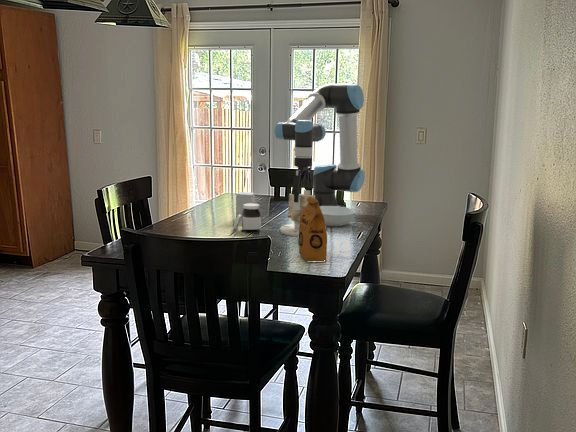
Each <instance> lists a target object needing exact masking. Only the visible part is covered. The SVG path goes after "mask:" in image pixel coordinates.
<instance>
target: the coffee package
mask: <svg viewBox="0 0 576 432" xmlns="http://www.w3.org/2000/svg"><path fill="white" fill-rule="evenodd" d="M307 201H308V204H307V206H306V207H305V209H304V211H303V212H302V214H301V216H300V225H299V237H298V238H297V244H298V254H299V255H300V256H301V258H303V260H305V261H306V262H307V261H324V260H326V261H327V256H328V255H327V251H328V231H327V226H326V225H325V220H324V216H323V214H322V211H321V209H320V206H319V203H318V201H317V200H316V199H314V198H312V197H308V198H307Z"/></svg>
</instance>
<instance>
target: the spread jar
mask: <svg viewBox="0 0 576 432" xmlns="http://www.w3.org/2000/svg"><path fill="white" fill-rule="evenodd" d="M243 208H244V209H243V211H242V215H240V214H239V215H238V216H237V218H236V217H235V220H234V223H233V227H232V229H233V230H234V231H237V230H238V229H239V226H240V224H241V230H242V232H243V233H247V234H248V233H249V234H255V233H259V232H261V225H262V223H261V221H262V215H261V214H262V213H261V210H260V204H258V203H255V202H254V203H248V204H244V205H243ZM241 219H242V221H241Z"/></svg>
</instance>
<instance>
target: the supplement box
mask: <svg viewBox="0 0 576 432" xmlns="http://www.w3.org/2000/svg"><path fill="white" fill-rule="evenodd" d="M255 195H256V193H255V192H252V191H251V192H249V191H240V192H238V193H236V194H235V219H236V218H237V216H238V215H239V214H240V215H242V211H243V209H244V208H243V205H244V204H248V203H254V204H255ZM241 222H242V219H241Z"/></svg>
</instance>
